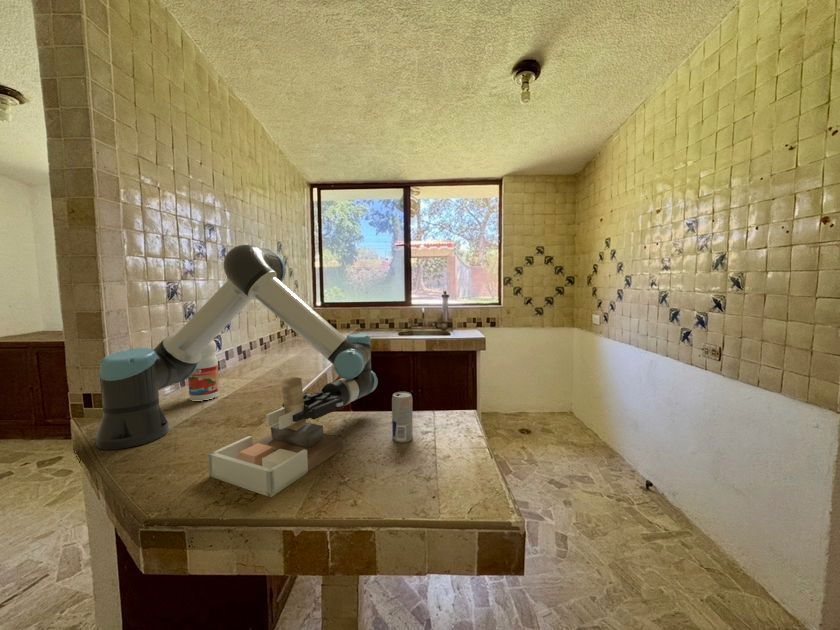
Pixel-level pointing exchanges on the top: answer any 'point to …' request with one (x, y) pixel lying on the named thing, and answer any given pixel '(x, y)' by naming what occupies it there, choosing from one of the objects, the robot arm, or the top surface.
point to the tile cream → (276, 458)
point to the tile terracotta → (255, 453)
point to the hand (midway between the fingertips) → (273, 421)
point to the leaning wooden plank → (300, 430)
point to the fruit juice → (205, 375)
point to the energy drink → (402, 417)
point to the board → (314, 453)
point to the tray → (255, 469)
